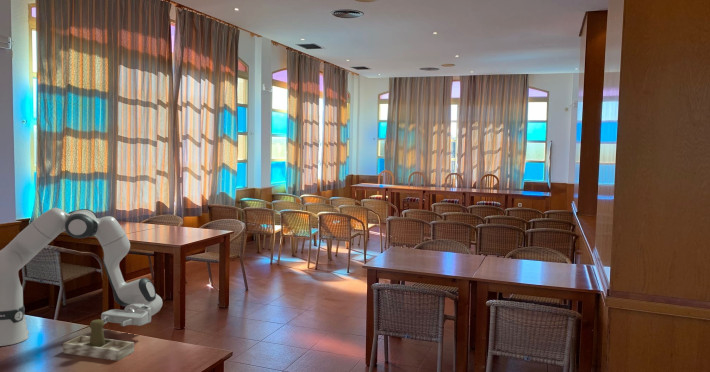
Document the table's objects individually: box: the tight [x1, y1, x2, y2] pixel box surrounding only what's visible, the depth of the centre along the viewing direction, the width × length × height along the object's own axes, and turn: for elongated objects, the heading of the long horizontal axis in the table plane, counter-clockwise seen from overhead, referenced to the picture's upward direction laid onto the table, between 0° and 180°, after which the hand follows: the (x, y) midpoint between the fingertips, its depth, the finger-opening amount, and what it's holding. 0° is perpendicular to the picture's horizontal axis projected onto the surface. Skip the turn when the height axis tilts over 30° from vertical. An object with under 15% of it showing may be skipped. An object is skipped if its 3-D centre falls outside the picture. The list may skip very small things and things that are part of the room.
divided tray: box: [62, 335, 135, 361], centre depth 205 cm, size 26×9×4 cm, turn 75°
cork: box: [89, 318, 106, 347], centre depth 204 cm, size 6×6×11 cm
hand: (111, 323), depth 211 cm, fingers open, 8 cm apart
